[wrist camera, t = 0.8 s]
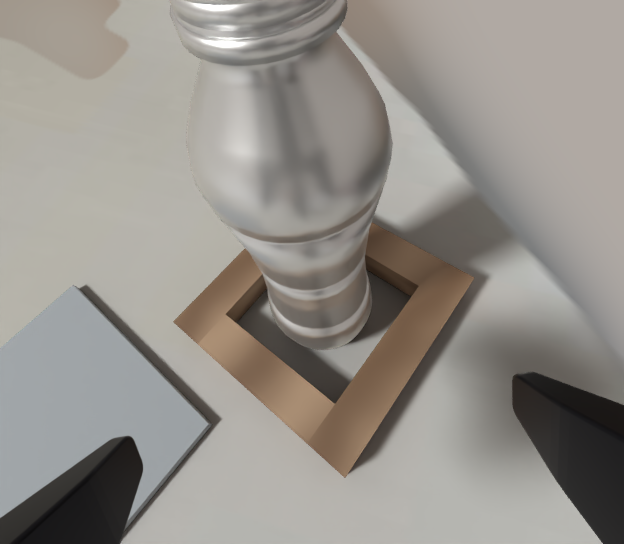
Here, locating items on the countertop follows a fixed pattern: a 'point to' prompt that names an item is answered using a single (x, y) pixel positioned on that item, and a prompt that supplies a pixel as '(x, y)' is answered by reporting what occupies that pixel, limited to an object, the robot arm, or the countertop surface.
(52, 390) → the mat
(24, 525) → the robot arm
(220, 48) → the plastic bottle
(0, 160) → the countertop surface
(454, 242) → the countertop surface
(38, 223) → the countertop surface
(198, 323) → the pocket frame
